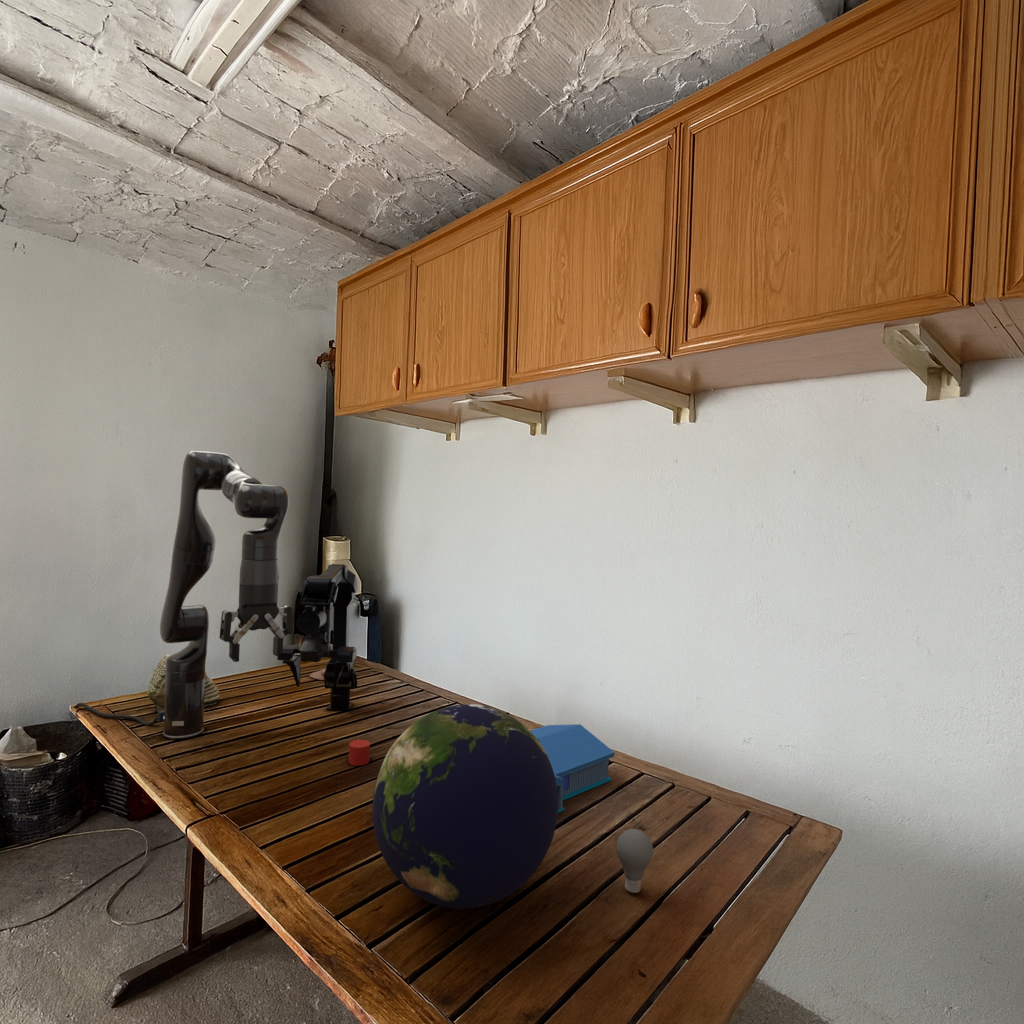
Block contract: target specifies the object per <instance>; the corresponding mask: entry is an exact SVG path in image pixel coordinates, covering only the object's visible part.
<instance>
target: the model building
mask: <svg viewBox="0 0 1024 1024" xmlns="http://www.w3.org/2000/svg"><path fill="white" fill-rule="evenodd" d="M529 730H530V732H531V733H532V734H533V735H534V736H535V737H536V738H537V739H538V741H539V742H540V743H541V745H542V747H543V748H544V750H545V752H546V753H547V756H548V758H549V761H550V763H551V765H552V768H553V772H554V775H555V779H556V784H557V791H558V814H559V813H562V812H564V811H565V810H566V809H565V807H564V805H563V804H564V801H565V800H568V799H570V798H572V797H575V796H577V795H580V794H582V793H585V792H587V791H589V790H591V789H594V788H597V787H599V786H601V785H603V784H606V783H609V782H610V781H612V779H613V778H612V777H610V776H609V766H610V765H609V763H610V759H612V758H614V757H615V751H613V750H612V749H611V748H610V747H609V746H608V745H606V744H605V743H604V742H603V741H601V740H600V738H598V737H597V736H595V735H594V734H593V733H592V732H591V731H589V730H588V729H587V728H586V727H584V726H583V725H582V724H580V723H578V724H576V723H575V724H548V725H547V724H546V725H544V726H541V727H537V728H533V729H529Z"/></svg>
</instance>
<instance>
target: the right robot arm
mask: <svg viewBox="0 0 1024 1024" xmlns="http://www.w3.org/2000/svg"><path fill="white" fill-rule="evenodd" d="M357 592H358V578H357V576H356V574H355V573H354V572H352V571H351V570H349V568H348V565H346V564H344V563H343V564H341V563H331V564H328V566H327V568H326V569H325V570H324V571H323V572H322V573H321V574H319V575H311V576H308V577H307V579H306V580H304V583H303V587H302V589H301V595H300V599H299V602H298V603H299V606H302V607H303V606H304V610H303V611H302V612H300V613H299V614H298V616H297V618H296V619H295V626H296V628H297V630H298V631H299V633H301V634H304V635H305V638H304V640H303V642H302V644H301V645H300V644H287V643H285V644H284V645H283V651H282V653H280V656H276V657H277V658H276V660H277V661H282V664H285V665H287V666H288V667H289V669H290V671H291V673H292V676H293V678H294V682H295V685H296V687H297V688H299V687H300V686H301V676H302V675H301V671H302V670H301V667H302V665H301V663H306V662H313V663H319V662H321V660H322V658H330V659H329V660H328V661H327V663H326V666H325V668H324V669H325V672H324V680H323V682H324V689H330V695H329V697H330V700H329V705H328V706H327V707H326V711H344V712H345V711H350V709H351V708H352V706H353V704H354V702H351V690H354V689H357V688H358V676H357V673H356V669H355V668H354V661H355V660H356V658H357V656H358V653H357V652H358V650H357V648H356V647H355V646H349V637H350V636H349V635H350V633H349V632H350V631H349V630H350V605H351V604H352V602H353V601H354V599H355V597H356V593H357ZM332 607H333V618H331V617H332ZM332 619H333V622H332ZM331 622H332V623H333V624H332V623H331ZM331 624H332V625H331ZM331 626H332V627H331ZM331 632H332V649H331Z"/></svg>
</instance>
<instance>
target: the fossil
mask: <svg viewBox="0 0 1024 1024" xmlns="http://www.w3.org/2000/svg"><path fill="white" fill-rule="evenodd" d="M171 655H172V654H165V655H164V656H163V657H162V658H161V659H160V660H159V662H158V663H157V666H156V667H155V669H154V670H153V672H152V675H151V677H150V680H149V684H148V688H147V697H148V699H149V700H150V701H152V703H153V704H154V706H155V711H160V710H164V705H165V674H166V660H167V658H168V657H169V656H171ZM220 698H221V696H220V690H219V688H218V686H217V685H216V683H215V682H214V681H213V679H212V678H211V677H209V675H208V674H207V672H206V671H205V693H204V707H207V706H213V705H215V704H217V703H218V701H219V699H220Z"/></svg>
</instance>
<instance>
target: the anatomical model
mask: <svg viewBox="0 0 1024 1024" xmlns="http://www.w3.org/2000/svg"><path fill="white" fill-rule="evenodd" d="M325 669H326V668H322V669H320V670H316V671H313V672H312V673H311V674H309V676H308V677H310V678H312V679H315V680H320V681H324V672H325Z"/></svg>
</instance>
